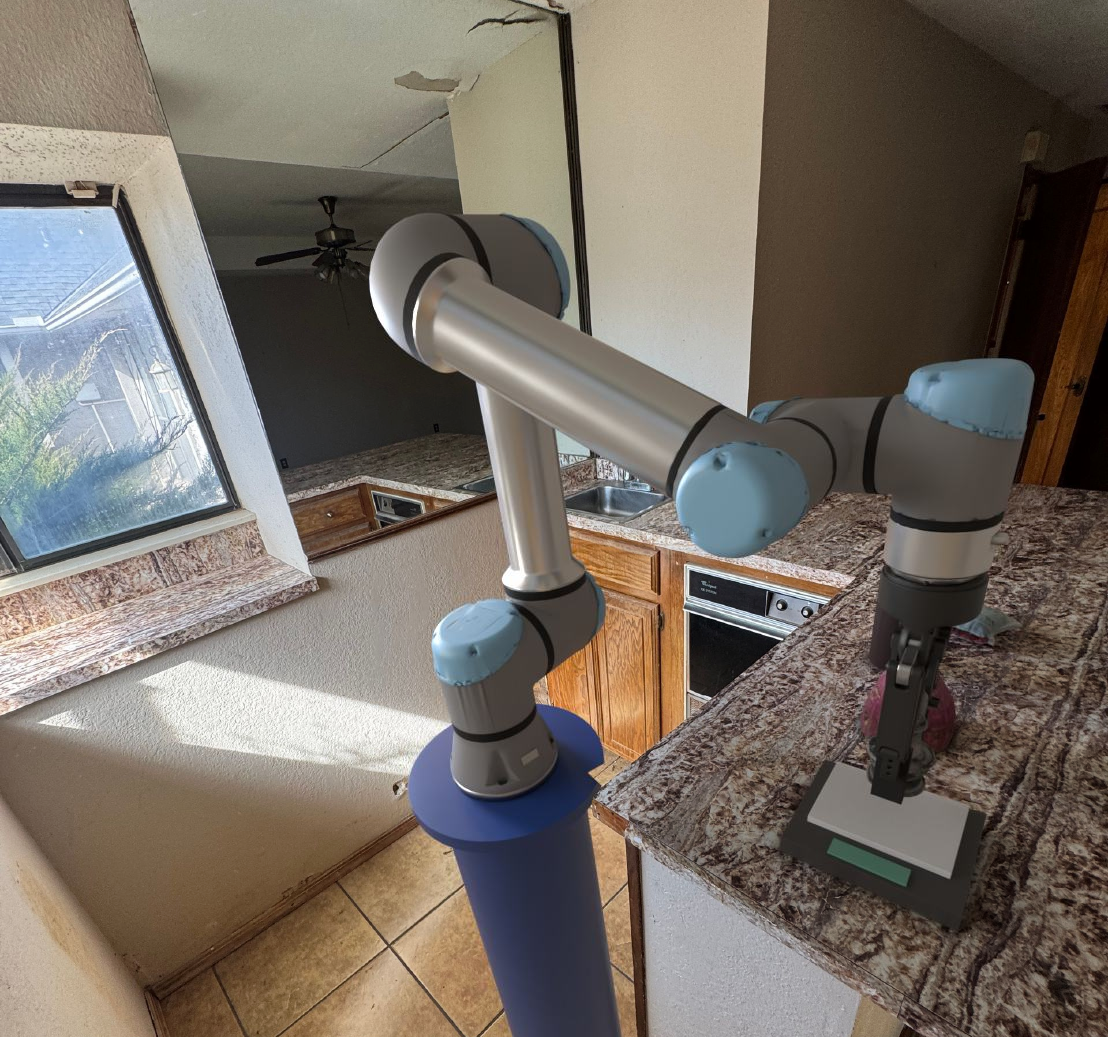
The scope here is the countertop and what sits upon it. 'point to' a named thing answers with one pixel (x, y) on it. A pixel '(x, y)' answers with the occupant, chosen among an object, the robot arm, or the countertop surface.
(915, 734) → the chess piece
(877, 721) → the vegetable
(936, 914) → the scale
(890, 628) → the bottle
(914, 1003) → the countertop surface
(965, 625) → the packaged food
